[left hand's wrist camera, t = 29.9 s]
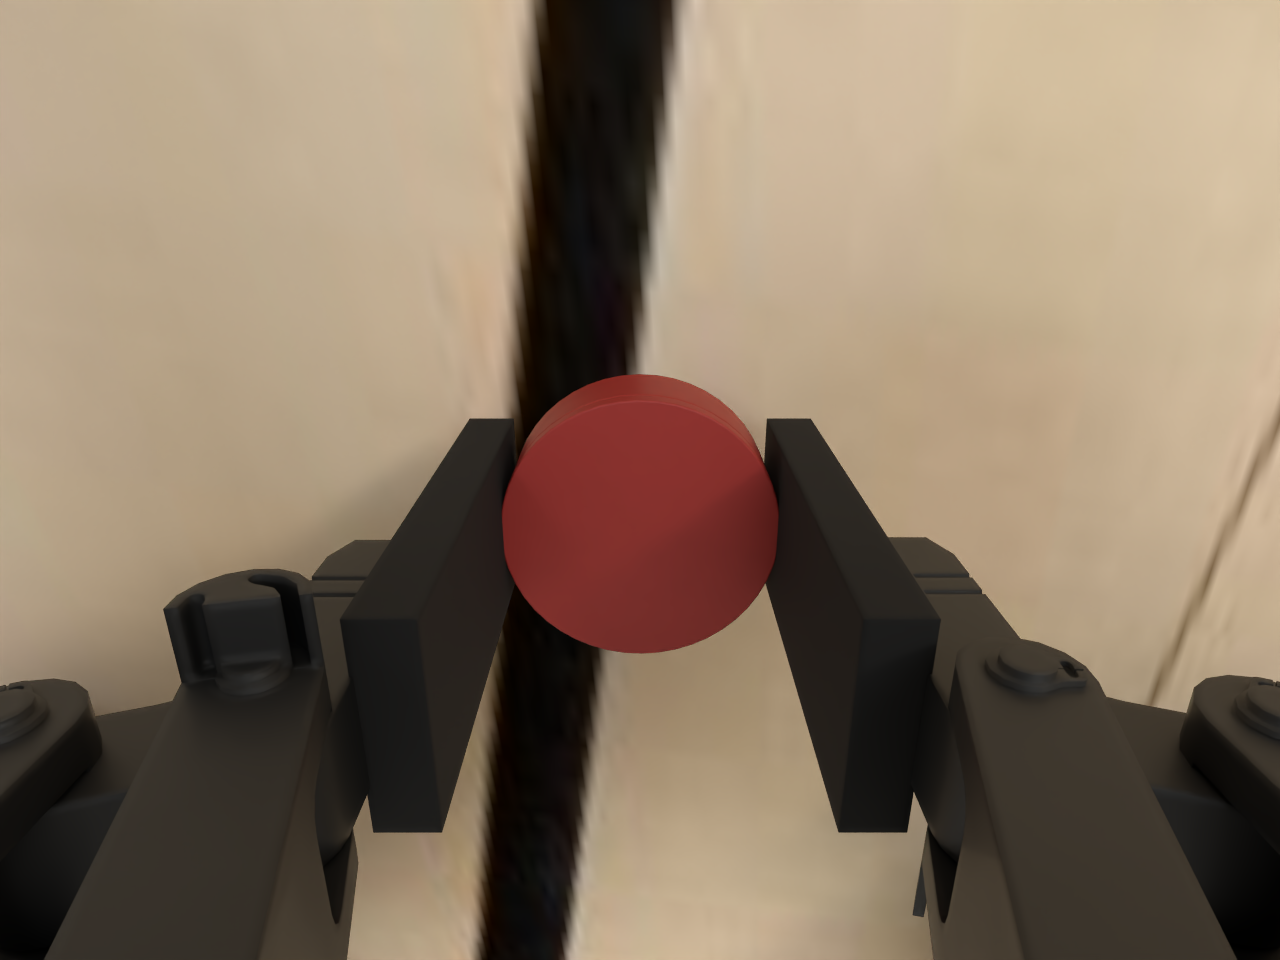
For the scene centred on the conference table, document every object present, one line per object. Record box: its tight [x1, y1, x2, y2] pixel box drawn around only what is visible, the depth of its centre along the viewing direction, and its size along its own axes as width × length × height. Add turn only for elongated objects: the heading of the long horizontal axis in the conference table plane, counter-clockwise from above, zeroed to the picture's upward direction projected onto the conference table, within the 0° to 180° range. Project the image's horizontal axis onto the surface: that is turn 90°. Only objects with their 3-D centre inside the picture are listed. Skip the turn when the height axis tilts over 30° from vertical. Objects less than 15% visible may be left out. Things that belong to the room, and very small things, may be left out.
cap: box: [502, 374, 779, 653], centre depth 14 cm, size 4×4×2 cm
